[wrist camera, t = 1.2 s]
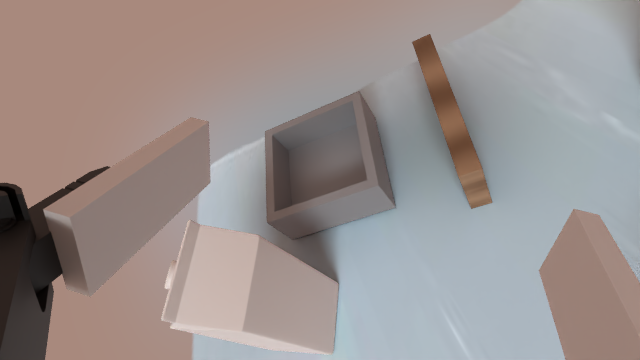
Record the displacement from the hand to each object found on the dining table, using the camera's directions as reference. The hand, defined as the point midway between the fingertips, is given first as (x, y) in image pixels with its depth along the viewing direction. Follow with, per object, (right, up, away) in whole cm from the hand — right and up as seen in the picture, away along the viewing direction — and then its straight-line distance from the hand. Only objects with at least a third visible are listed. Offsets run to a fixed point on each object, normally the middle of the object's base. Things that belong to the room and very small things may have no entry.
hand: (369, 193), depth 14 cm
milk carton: (-3, -14, +28) cm, 31 cm away
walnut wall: (+13, +5, +29) cm, 33 cm away
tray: (0, +1, +34) cm, 34 cm away
